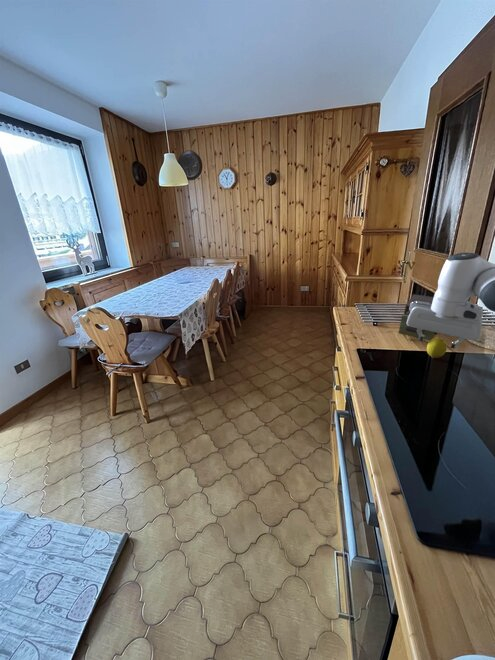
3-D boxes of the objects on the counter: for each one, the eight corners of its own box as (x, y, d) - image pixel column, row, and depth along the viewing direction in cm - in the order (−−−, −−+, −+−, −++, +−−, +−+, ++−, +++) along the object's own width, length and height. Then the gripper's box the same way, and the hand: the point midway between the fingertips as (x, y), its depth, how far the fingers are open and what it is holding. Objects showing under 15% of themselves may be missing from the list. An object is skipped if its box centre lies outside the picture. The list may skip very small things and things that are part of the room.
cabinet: (436, 334, 111) (443, 312, 107) (401, 327, 118) (405, 305, 114) (442, 320, 121) (448, 299, 117) (408, 314, 128) (413, 294, 124)
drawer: (429, 346, 102) (435, 326, 99) (395, 337, 109) (399, 319, 105) (437, 326, 115) (442, 309, 111) (406, 320, 121) (409, 303, 118)
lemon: (438, 353, 100) (444, 333, 96) (446, 362, 95) (452, 341, 91) (421, 353, 100) (426, 333, 97) (428, 362, 95) (434, 341, 92)
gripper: (409, 302, 92) (400, 339, 99) (488, 316, 81) (472, 357, 87) (413, 296, 97) (404, 331, 103) (489, 309, 85) (474, 348, 92)
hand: (436, 343), depth 95 cm, fingers open, 8 cm apart
